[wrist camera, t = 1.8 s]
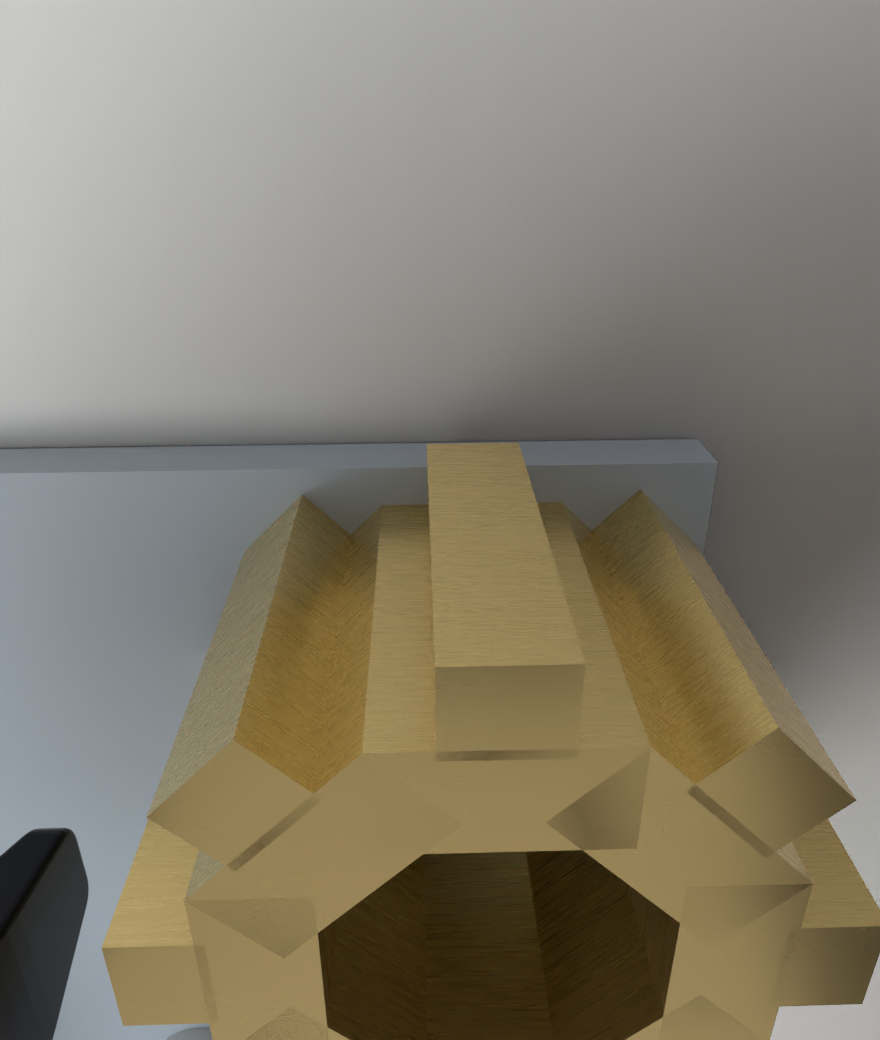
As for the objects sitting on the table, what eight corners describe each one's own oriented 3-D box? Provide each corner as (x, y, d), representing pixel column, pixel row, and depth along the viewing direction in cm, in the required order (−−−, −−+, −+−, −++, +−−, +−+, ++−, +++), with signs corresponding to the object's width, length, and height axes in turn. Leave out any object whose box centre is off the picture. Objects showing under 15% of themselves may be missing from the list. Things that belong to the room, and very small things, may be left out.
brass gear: (763, 439, 10) (982, 656, 6) (689, 854, 13) (802, 1171, 9) (177, 447, 10) (25, 675, 6) (242, 865, 13) (170, 1194, 9)
